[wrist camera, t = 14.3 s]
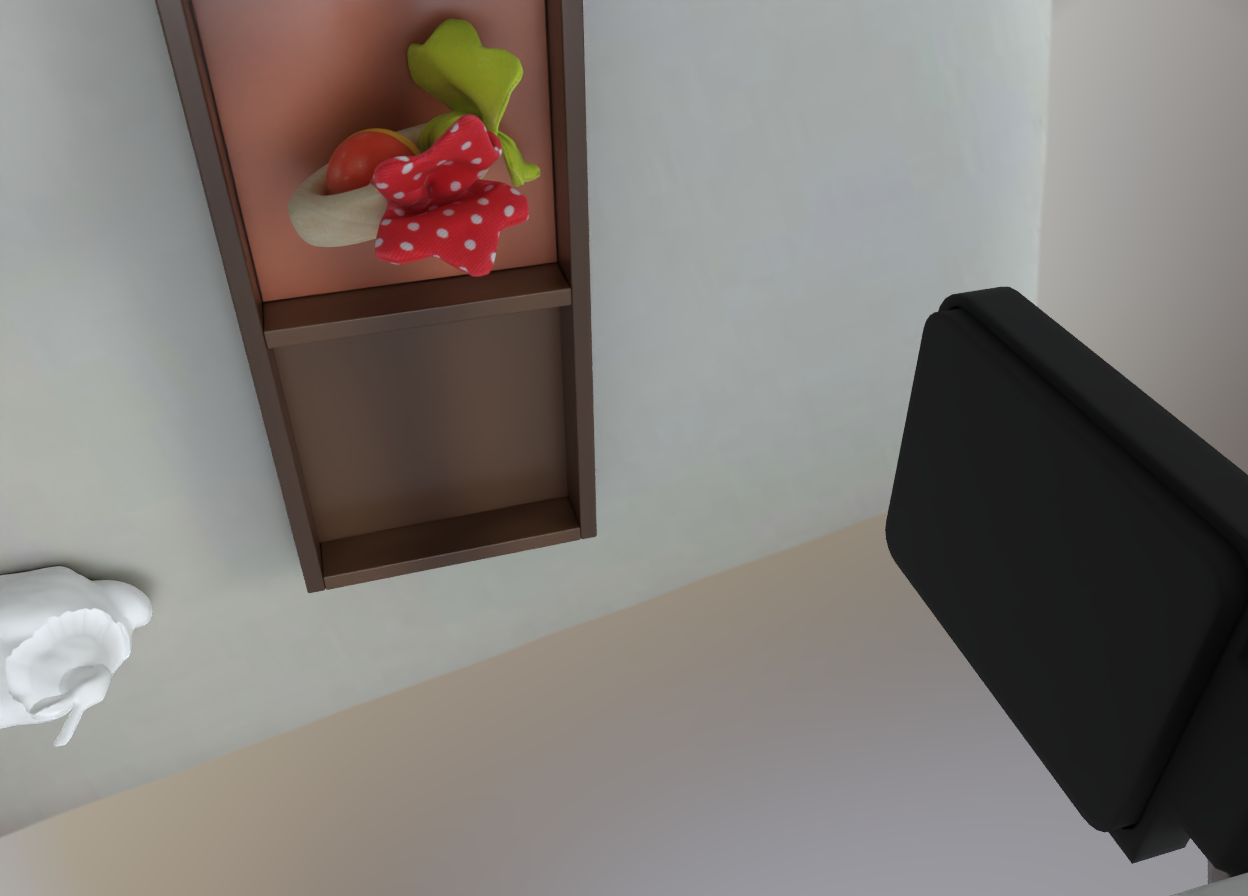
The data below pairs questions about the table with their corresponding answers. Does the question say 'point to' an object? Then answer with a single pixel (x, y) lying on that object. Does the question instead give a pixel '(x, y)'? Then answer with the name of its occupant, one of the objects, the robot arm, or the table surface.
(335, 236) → the bird rattle
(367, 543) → the wooden divided tray
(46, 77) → the table surface
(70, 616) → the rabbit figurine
